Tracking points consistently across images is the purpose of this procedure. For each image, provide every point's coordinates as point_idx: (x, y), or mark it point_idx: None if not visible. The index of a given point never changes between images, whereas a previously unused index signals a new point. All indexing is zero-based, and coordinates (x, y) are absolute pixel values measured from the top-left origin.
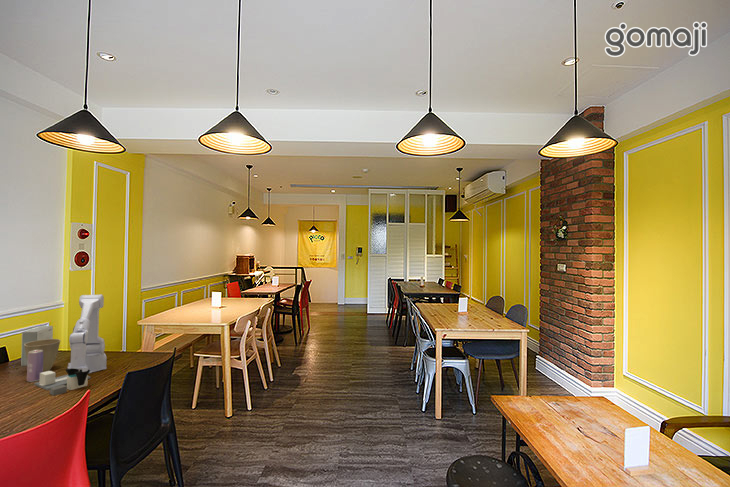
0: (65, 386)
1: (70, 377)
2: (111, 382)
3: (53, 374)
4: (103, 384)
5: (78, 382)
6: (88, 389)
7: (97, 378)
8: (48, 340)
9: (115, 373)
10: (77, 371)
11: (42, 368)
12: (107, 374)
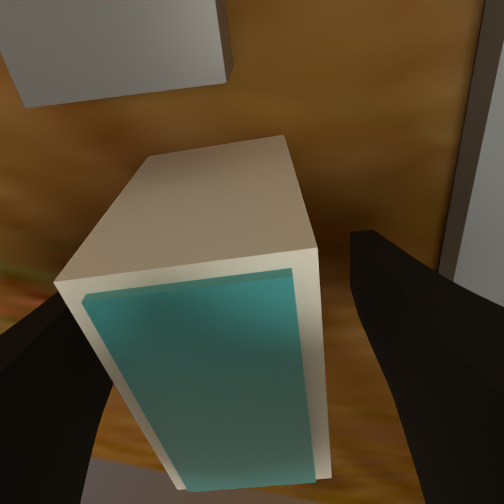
0: (32, 82)
1: (128, 283)
2: (129, 441)
3: None
4: (116, 403)
5: (52, 298)
6: (30, 299)
7: (358, 415)
8: None
9: (355, 491)
10: (418, 462)
11: None
12: (390, 467)
